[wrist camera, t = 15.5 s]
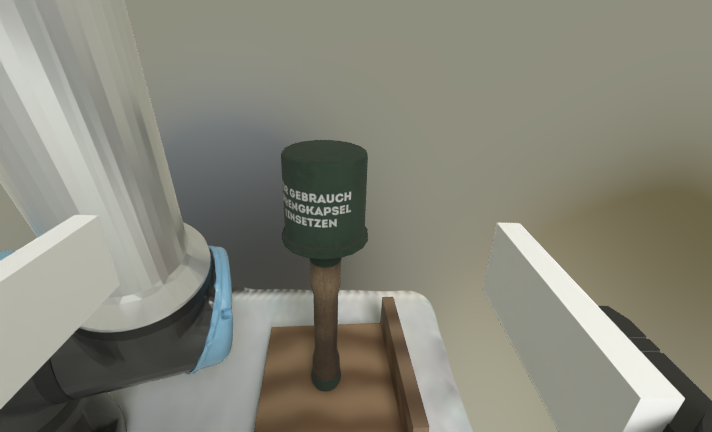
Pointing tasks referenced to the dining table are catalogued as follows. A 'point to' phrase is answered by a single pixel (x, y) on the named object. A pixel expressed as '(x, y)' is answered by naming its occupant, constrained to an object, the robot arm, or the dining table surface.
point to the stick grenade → (324, 231)
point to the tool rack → (342, 381)
